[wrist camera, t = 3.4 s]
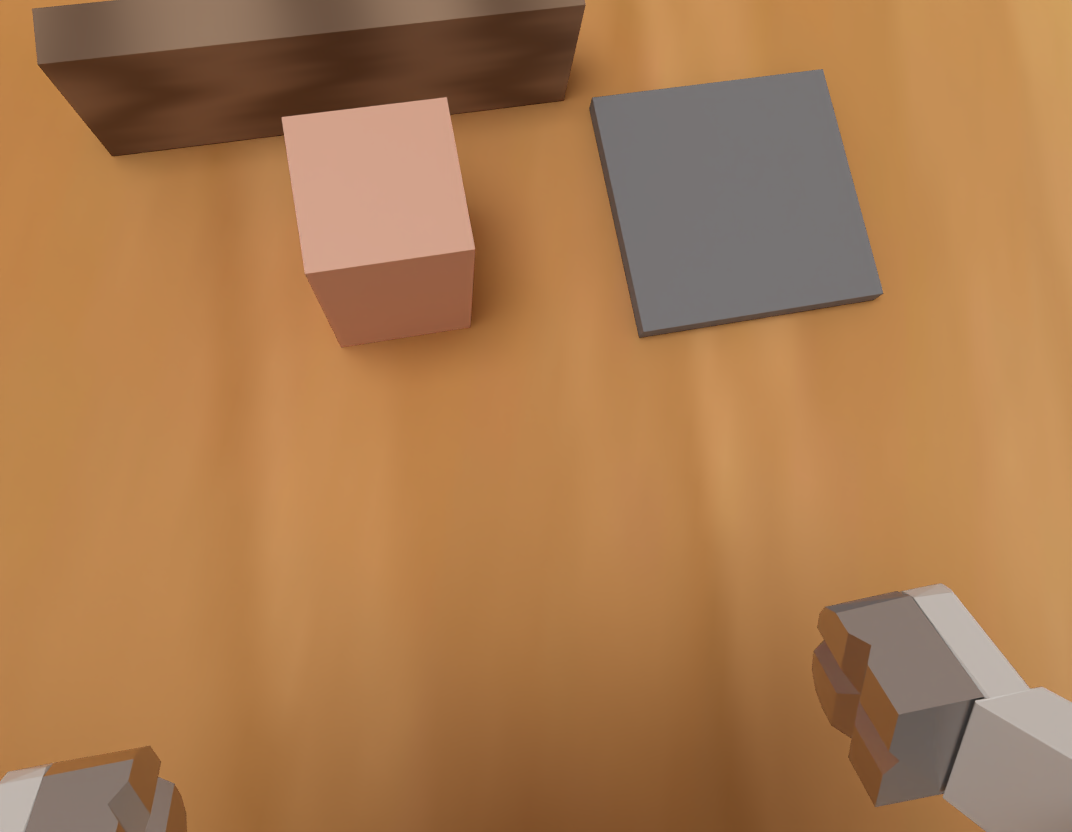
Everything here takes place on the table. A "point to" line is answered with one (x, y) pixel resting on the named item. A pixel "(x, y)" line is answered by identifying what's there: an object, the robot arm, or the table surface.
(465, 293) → the pink block
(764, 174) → the charcoal mat
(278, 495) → the table surface
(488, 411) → the table surface
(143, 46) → the walnut screen
